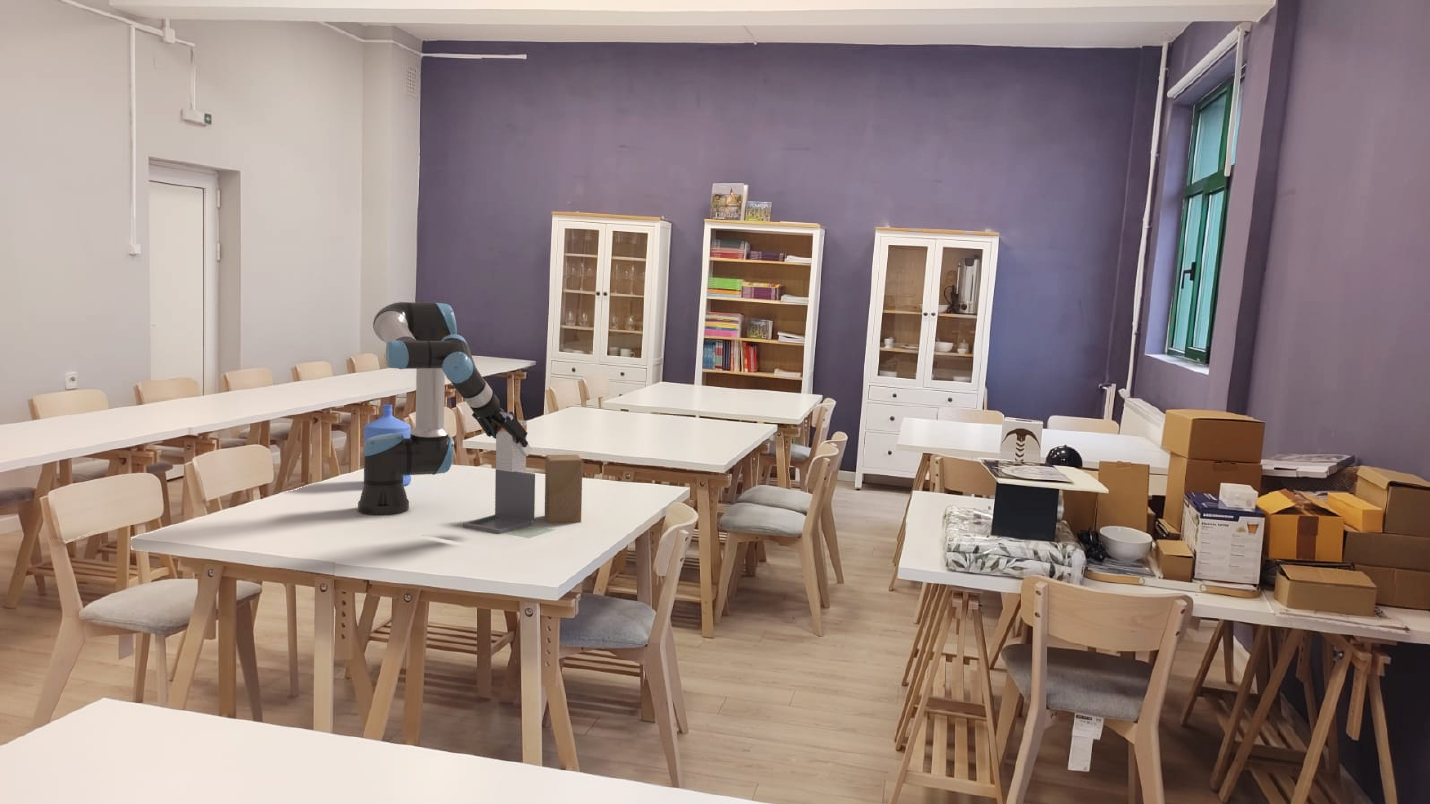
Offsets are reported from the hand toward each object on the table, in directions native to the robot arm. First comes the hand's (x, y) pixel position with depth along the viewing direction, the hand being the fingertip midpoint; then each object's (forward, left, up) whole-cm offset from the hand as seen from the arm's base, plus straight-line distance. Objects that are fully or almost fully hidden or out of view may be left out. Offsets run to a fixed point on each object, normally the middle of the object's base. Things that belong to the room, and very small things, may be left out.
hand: (519, 451), depth 287 cm
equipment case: (-5, -3, -23) cm, 24 cm away
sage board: (+7, -3, -23) cm, 24 cm away
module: (0, -4, -5) cm, 6 cm away
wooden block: (+5, +15, -23) cm, 28 cm away
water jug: (-78, +24, -23) cm, 85 cm away
